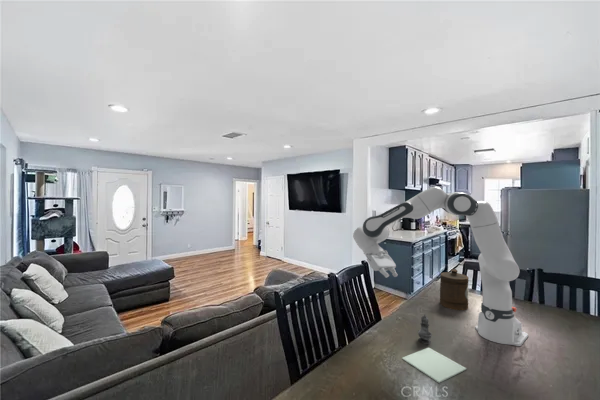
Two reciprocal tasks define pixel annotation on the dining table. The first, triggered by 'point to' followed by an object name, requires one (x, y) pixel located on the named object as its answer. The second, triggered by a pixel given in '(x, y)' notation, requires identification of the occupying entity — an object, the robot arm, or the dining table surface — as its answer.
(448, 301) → the wooden container
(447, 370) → the mat
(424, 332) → the grey metal vase shape
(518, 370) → the dining table surface
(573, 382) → the dining table surface
